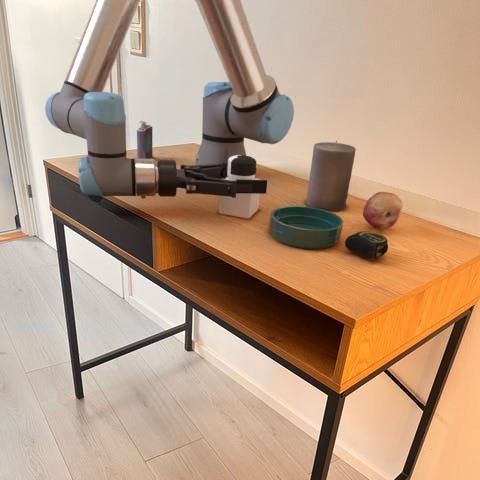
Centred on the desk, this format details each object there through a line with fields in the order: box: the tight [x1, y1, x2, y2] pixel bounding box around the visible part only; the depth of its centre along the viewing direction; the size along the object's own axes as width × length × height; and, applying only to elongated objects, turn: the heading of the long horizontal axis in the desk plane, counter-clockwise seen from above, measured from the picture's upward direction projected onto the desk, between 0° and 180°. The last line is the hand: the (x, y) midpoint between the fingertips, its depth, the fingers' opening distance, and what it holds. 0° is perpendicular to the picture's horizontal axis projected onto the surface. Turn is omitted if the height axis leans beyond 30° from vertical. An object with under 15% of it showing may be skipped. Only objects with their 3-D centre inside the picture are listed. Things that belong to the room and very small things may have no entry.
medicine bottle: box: [218, 155, 261, 219], centre depth 107 cm, size 7×7×12 cm
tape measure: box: [344, 230, 389, 261], centre depth 92 cm, size 7×7×4 cm
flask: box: [136, 120, 154, 159], centre depth 141 cm, size 9×3×11 cm, turn 172°
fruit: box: [362, 191, 404, 231], centre depth 105 cm, size 8×8×8 cm
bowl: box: [268, 205, 344, 250], centre depth 99 cm, size 14×14×4 cm
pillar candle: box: [305, 140, 357, 212], centre depth 115 cm, size 10×10×15 cm
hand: (260, 180), depth 107 cm, fingers closed on medicine bottle, 9 cm apart
